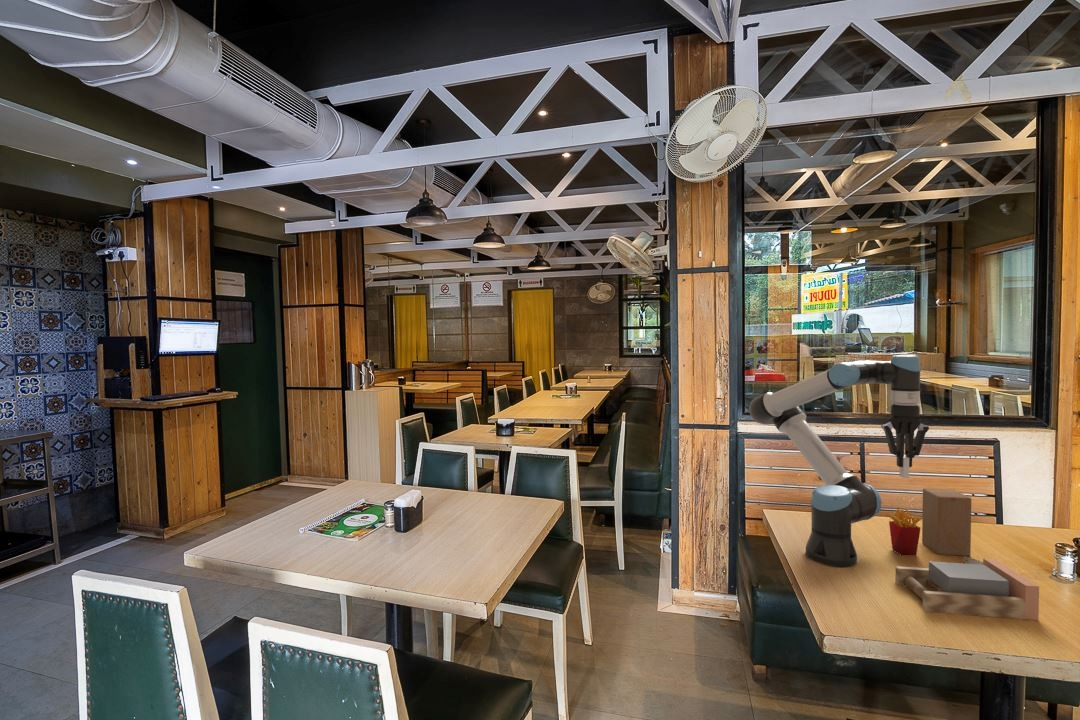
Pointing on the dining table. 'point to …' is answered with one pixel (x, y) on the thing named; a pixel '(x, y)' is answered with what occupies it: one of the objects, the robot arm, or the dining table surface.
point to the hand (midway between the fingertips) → (904, 476)
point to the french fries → (904, 532)
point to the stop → (1018, 587)
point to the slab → (968, 579)
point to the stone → (971, 561)
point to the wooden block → (946, 522)
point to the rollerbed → (957, 597)
